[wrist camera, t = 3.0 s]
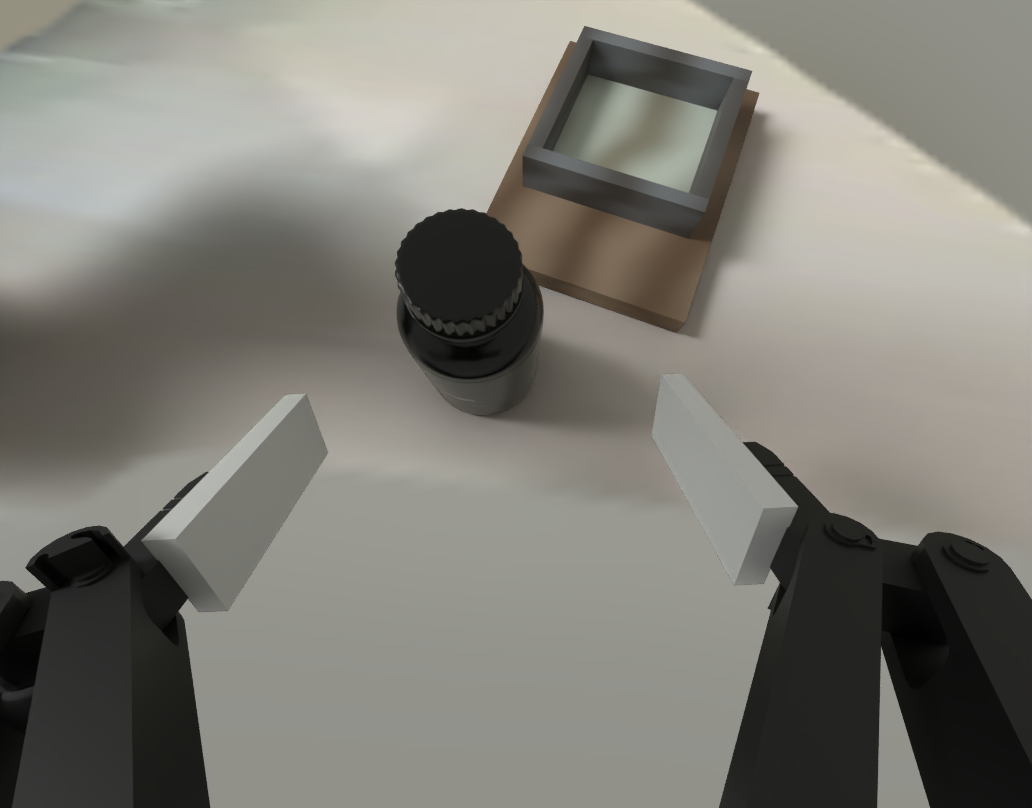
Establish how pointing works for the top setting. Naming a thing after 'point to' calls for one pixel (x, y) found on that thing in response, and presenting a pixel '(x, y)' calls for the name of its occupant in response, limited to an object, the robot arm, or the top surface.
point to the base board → (626, 174)
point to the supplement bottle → (469, 310)
